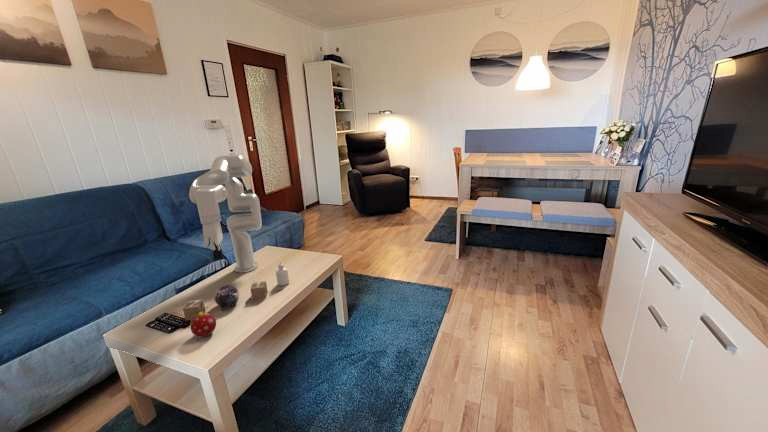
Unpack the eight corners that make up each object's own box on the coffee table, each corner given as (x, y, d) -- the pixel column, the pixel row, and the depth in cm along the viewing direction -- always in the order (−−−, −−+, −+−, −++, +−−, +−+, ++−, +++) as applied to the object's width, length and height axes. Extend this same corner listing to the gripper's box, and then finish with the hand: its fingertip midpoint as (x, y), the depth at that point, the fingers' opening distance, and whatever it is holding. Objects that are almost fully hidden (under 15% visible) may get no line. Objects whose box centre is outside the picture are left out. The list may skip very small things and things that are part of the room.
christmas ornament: (214, 339, 118) (209, 316, 116) (189, 343, 117) (183, 320, 114) (220, 325, 126) (215, 304, 124) (197, 329, 125) (192, 307, 122)
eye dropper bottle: (280, 281, 161) (276, 260, 157) (290, 281, 160) (287, 260, 156) (276, 285, 156) (272, 264, 153) (286, 286, 156) (283, 264, 152)
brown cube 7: (190, 313, 136) (187, 300, 134) (205, 311, 137) (202, 298, 136) (185, 321, 131) (182, 308, 129) (201, 318, 132) (198, 306, 130)
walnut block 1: (254, 294, 150) (252, 282, 148) (267, 292, 151) (265, 280, 149) (252, 300, 144) (250, 288, 142) (266, 298, 146) (264, 286, 144)
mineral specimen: (221, 295, 146) (225, 277, 143) (241, 304, 146) (246, 286, 143) (207, 306, 137) (211, 287, 134) (228, 315, 137) (233, 297, 134)
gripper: (206, 214, 135) (214, 253, 141) (194, 224, 122) (204, 267, 127) (224, 212, 137) (232, 251, 142) (215, 222, 123) (224, 264, 128)
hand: (219, 258), depth 134 cm, fingers closed
